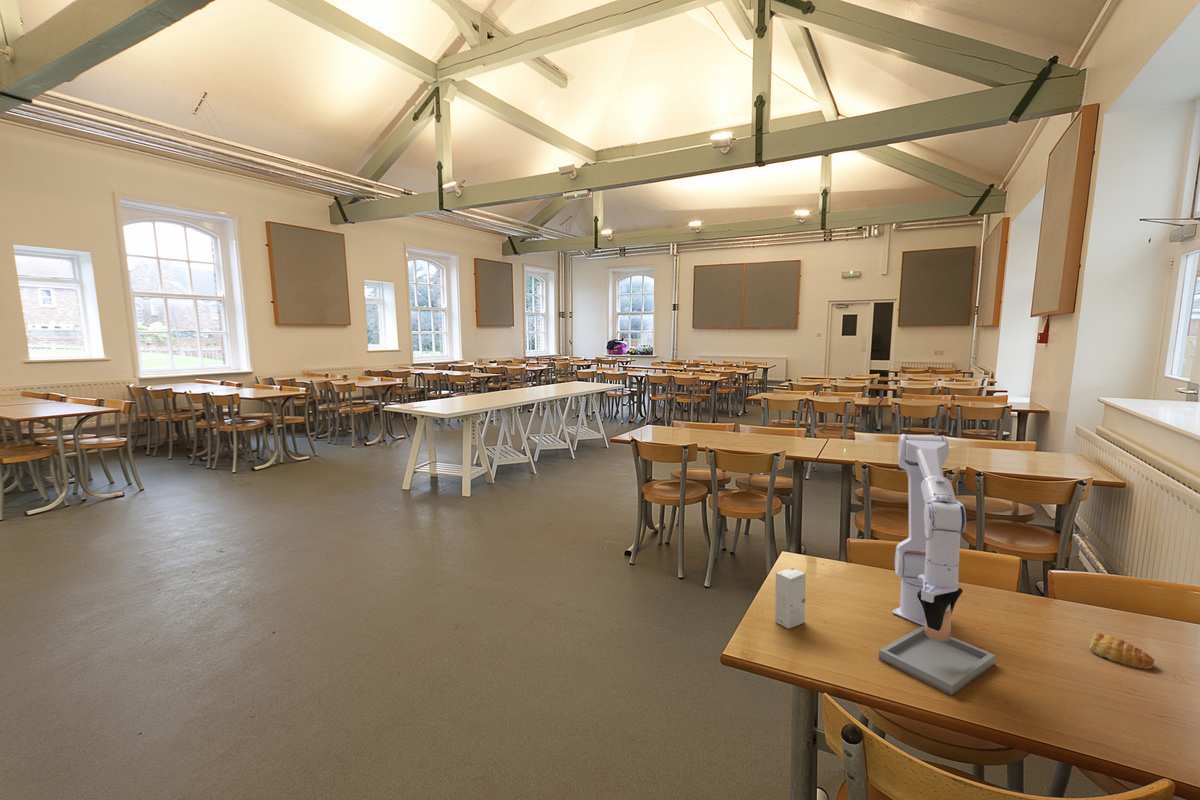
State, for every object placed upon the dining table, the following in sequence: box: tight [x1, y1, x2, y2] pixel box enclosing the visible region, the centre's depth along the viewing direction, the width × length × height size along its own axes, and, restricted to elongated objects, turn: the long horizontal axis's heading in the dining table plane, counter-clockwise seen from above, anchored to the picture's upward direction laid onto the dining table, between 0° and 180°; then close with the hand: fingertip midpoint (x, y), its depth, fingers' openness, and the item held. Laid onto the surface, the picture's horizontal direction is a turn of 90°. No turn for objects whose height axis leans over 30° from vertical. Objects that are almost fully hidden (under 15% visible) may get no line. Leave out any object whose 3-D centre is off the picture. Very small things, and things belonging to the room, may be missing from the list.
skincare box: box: [774, 567, 806, 629], centre depth 125 cm, size 6×4×12 cm
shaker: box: [925, 604, 952, 641], centre depth 108 cm, size 4×4×7 cm
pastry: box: [1088, 632, 1155, 670], centre depth 110 cm, size 9×7×4 cm
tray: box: [878, 625, 996, 696], centre depth 109 cm, size 18×14×2 cm
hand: (938, 624), depth 109 cm, fingers closed on shaker, 4 cm apart
